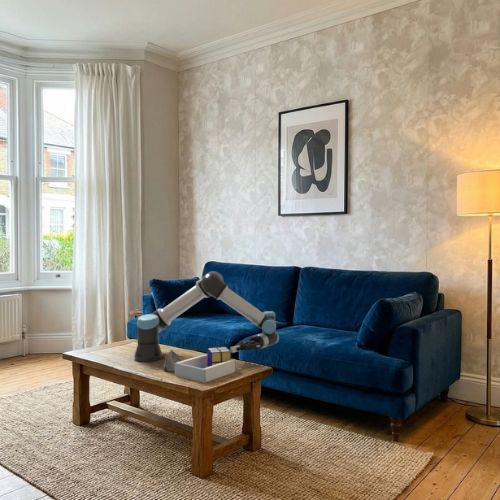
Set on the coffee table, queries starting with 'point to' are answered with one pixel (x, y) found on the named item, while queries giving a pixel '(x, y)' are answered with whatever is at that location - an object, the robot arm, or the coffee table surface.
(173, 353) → the mineral rock
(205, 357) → the grey storage tray
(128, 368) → the coffee table surface
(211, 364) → the puzzle cube
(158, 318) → the robot arm
